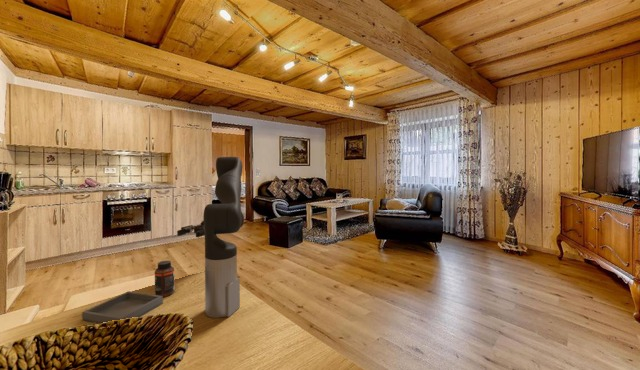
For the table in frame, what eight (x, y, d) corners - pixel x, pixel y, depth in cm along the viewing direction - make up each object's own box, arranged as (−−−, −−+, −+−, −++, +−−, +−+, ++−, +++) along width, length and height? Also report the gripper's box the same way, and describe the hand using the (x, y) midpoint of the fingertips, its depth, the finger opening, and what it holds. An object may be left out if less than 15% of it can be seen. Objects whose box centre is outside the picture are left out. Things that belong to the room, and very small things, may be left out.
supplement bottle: (178, 290, 95) (177, 259, 95) (167, 298, 89) (166, 265, 89) (162, 289, 96) (162, 259, 95) (150, 297, 90) (150, 264, 89)
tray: (162, 303, 85) (162, 296, 85) (121, 327, 72) (120, 318, 72) (128, 298, 89) (128, 291, 89) (82, 320, 75) (82, 312, 75)
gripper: (199, 217, 120) (171, 223, 104) (227, 218, 116) (202, 225, 101) (199, 233, 120) (172, 242, 104) (227, 235, 117) (203, 244, 101)
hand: (187, 234), depth 103 cm, fingers open, 8 cm apart
